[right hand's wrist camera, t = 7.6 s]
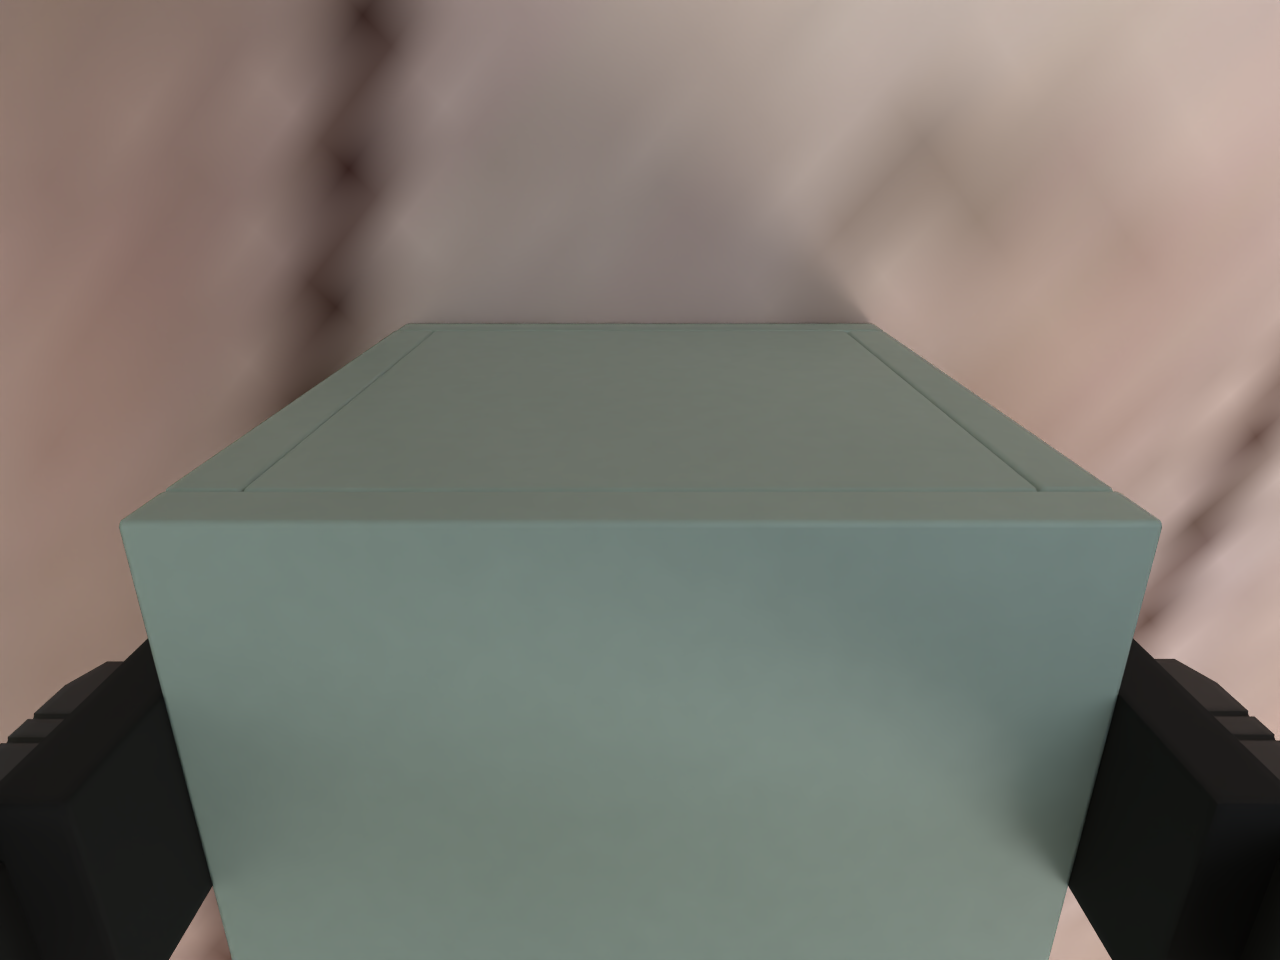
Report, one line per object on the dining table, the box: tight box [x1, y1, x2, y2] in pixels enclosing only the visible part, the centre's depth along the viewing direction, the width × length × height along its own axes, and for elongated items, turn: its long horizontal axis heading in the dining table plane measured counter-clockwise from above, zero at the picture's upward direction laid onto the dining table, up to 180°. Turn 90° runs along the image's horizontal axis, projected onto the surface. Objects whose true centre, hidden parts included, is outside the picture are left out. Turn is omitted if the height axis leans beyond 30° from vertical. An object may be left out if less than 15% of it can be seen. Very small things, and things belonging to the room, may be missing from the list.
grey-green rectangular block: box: [119, 324, 1162, 960], centre depth 16 cm, size 17×10×10 cm, turn 0°
